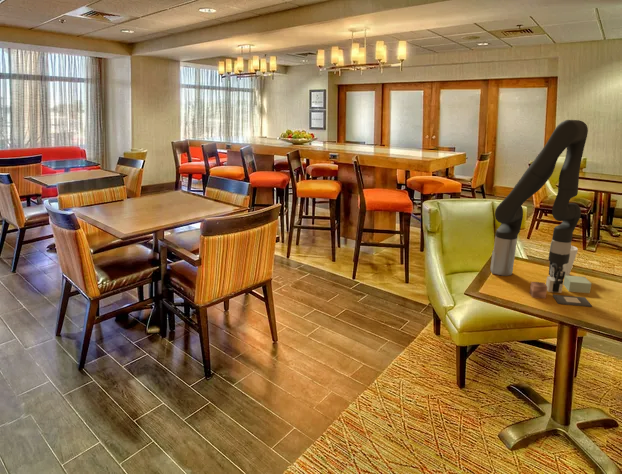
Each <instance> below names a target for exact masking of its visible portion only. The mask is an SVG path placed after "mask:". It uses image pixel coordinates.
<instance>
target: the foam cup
mask: <svg viewBox="0 0 622 474" xmlns="http://www.w3.org/2000/svg"><path fill="white" fill-rule="evenodd" d="M578 250H579V249H578V247H577V246H576V245H575V246H574V245H571V251H570V257H569V262H568V263H567V264H564V265H563V268H564V271H565V275H567V276H570V274H571V272H572V271H571V270H572V268H573V265H574V262H575V260H576V256H577V254H578Z"/></svg>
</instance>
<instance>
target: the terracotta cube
mask: <svg viewBox="0 0 622 474" xmlns="http://www.w3.org/2000/svg"><path fill="white" fill-rule="evenodd" d="M529 288H530V289H529V294H530V296H531V298H536V299H544V300H545V299H546V298H547V294H548V293H547V292H548V290H547V286H546V283H545V282H539V281H530V287H529Z"/></svg>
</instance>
